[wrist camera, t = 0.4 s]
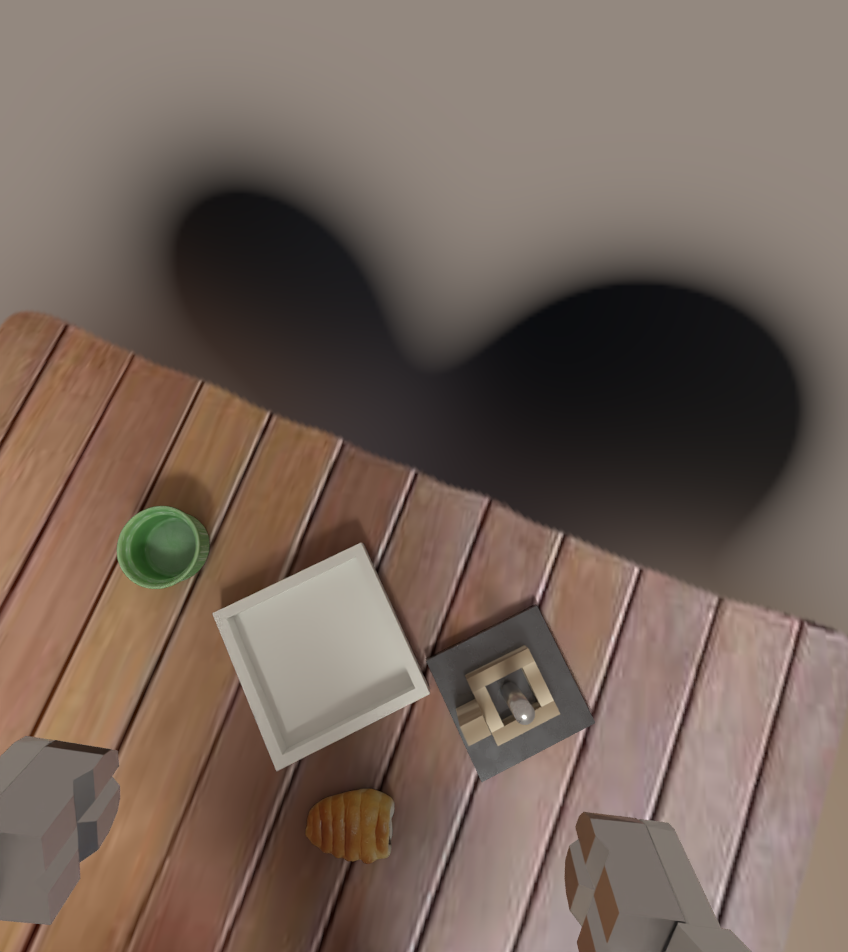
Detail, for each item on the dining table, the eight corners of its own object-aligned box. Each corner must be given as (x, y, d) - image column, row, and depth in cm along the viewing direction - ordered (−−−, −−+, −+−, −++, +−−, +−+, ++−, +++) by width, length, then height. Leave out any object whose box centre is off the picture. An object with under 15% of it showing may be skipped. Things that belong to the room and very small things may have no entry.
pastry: (307, 851, 56) (299, 873, 52) (310, 784, 57) (302, 800, 53) (394, 851, 56) (392, 873, 52) (395, 784, 57) (393, 800, 53)
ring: (555, 708, 57) (571, 726, 51) (474, 750, 56) (481, 773, 50) (524, 644, 58) (536, 655, 52) (444, 685, 57) (447, 700, 51)
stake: (592, 719, 58) (623, 750, 49) (480, 778, 57) (492, 820, 48) (535, 604, 59) (555, 613, 51) (426, 659, 58) (427, 677, 50)
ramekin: (129, 579, 60) (106, 581, 55) (148, 503, 61) (128, 499, 57) (205, 592, 59) (188, 595, 55) (222, 515, 61) (207, 513, 56)
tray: (429, 687, 58) (429, 693, 55) (282, 761, 57) (276, 771, 54) (363, 542, 60) (360, 542, 58) (221, 610, 59) (212, 613, 57)
